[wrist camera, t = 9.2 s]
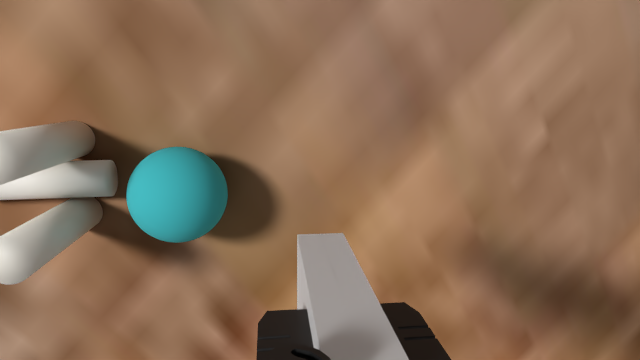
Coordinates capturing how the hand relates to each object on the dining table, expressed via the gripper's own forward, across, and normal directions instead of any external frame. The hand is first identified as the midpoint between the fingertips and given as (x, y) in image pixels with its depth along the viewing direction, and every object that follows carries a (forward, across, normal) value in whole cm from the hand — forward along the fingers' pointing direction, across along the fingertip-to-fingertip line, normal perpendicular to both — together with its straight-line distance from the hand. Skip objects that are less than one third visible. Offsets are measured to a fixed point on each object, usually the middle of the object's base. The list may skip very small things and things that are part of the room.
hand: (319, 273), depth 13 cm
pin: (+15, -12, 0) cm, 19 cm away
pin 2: (+16, -14, -2) cm, 22 cm away
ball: (+13, -7, -1) cm, 15 cm away
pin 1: (+16, -14, +2) cm, 22 cm away
